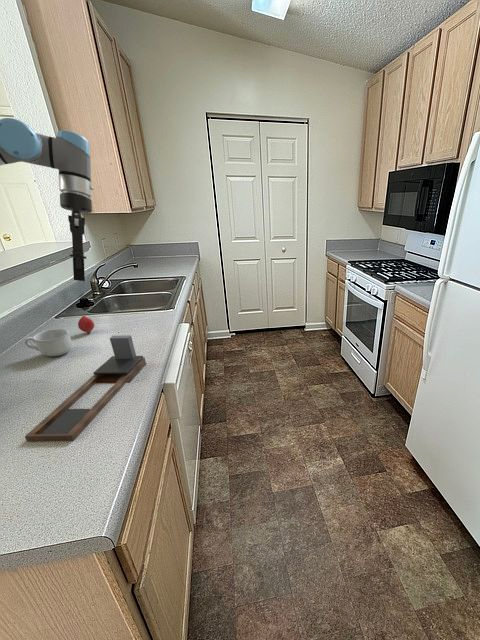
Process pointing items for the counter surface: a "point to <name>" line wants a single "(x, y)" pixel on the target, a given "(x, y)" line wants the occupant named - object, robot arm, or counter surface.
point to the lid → (120, 356)
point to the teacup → (51, 342)
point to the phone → (66, 421)
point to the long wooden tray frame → (91, 414)
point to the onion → (86, 324)
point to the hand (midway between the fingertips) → (79, 280)
